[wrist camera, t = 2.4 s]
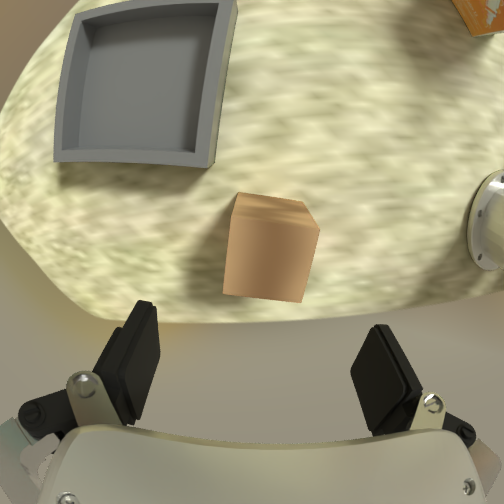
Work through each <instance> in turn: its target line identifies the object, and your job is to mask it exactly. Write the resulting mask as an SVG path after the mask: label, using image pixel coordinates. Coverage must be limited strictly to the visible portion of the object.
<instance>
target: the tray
mask: <svg viewBox="0 0 504 504" xmlns="http://www.w3.org/2000/svg"><path fill="white" fill-rule="evenodd" d="M237 14H238V7H237V1H236V0H130V1H125V2H120V3H115V4H111V5H106V6H102V7H98V8H95V9H91V10H87V11H84V12H81V13H77V14H75V17H74V20H73V23H72V27H71V30H70V34H69V38H68V42H67V46H66V51H65V55H64V60H63V65H62V70H61V76H60V82H59V89H58V97H57V105H56V116H55V129H54V162H124V163H146V164H163V165H177V166H189V167H199V168H208V167H210V166H211V165H212V164H214V163H215V155H216V147H217V139H218V131H219V123H220V116H221V109H222V102H223V95H224V89H225V82H226V76H227V70H228V64H229V58H230V52H231V46H232V41H233V35H234V30H235V25H236V19H237Z"/></svg>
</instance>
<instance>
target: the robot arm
mask: <svg viewBox="0 0 504 504" xmlns="http://www.w3.org/2000/svg"><path fill="white" fill-rule="evenodd" d="M467 243H468V249H469V252H470V255H471V258H472V259H473V261H474V262H475V263H476V264H477V265H478V266H479V267H481V268H482V269H484V270H488V271H490V270H495V269H498V268H501V269H503V270H504V170H498V171H496V172H494V173H492V174H491V175H490V176H489V177H488V178H487V179H486V180H485V181H484V183H483V184H482V185H481V187H480V189H479V191H478V192H477V195H476V197H475V199H474V202H473V205H472V208H471V211H470V216H469V221H468V230H467ZM159 359H160V344H159V333H158V321H157V309H156V306H153V305H152V302H148V301H142V300H138V301H137V303H136V305H135V306H134V308H133V310H132V312H131V313H130V315H129V317H128V319H127V321H126V322H125V324H124V326H123V328H121V327H117V328H116V329H115V330H114V332H113V335H112V336H111V337H110V339H109V341H108V343H107V345H106V346H105V348H104V350H103V352H102V354H101V356H100V357H99V359H98V361H97V363H96V365H95V367H94V369H93V371H92V372H90V371H79V372H77V373H74V374H73V375H72V376H70V378H69V379H68V381H67V384H66V389H64V390H61V391H58V392H55V393H52V394H49V395H46V396H43V397H39V398H36V399H33V400H30V401H28V402H26V403H24V404H23V405H22V406H21V408H20V409H19V413H18V417H17V418H16V419H14V418H13V417H12V418H10V419H9V420H7V421H6V422H4V423H3V424H2V425H1V426H0V486H1V487H2V489H3V490H4V492H5V494H6V495H7V497H8V498H9V499H10V501H11V502H12V504H487V501H486V496H487V494H488V492H489V490H490V489H491V487H492V485H493V483H494V481H495V480H496V478H497V476H498V474H499V472H500V470H501V460H500V458H499V457H498V456H497V455H496V454H495V453H494V452H493V451H492V450H491V449H490V448H489V447H488V446H487V445H485V444H484V443H483V442H482V441H481V440H480V439H477V440H476V432H475V430H474V428H473V427H472V426H471V425H470V424H468V423H467V422H465V421H463V420H461V419H459V418H457V417H455V416H453V415H451V414H449V413H447V412H446V404H445V401H444V400H443V398H442V397H441V396H440V395H438V394H437V393H434V392H426V393H424V394H422V392H421V391H422V390H423V388H422V386H421V384H420V382H419V380H418V378H417V376H416V374H415V372H414V370H413V368H412V367H411V365H410V363H409V361H408V359H407V357H406V356H405V354H404V352H403V350H402V349H401V347H400V345H399V343H398V341H397V340H396V338H395V336H394V334H393V333H392V331H391V329H390V328H389V326H388V325H383V324H378V325H377V324H376V325H375V326H374V327H372V328H371V329H370V331H369V333H368V335H367V337H366V339H365V341H364V343H363V346H362V347H361V349H360V351H359V353H358V355H357V358H356V359H355V361H354V363H353V365H352V367H351V371H350V372H351V377H352V380H353V383H354V386H355V389H356V392H357V395H358V398H359V401H360V404H361V408H362V411H363V414H364V417H365V420H366V424H367V427H368V429H369V431H371V432H372V435H373V437H368V438H361V439H353V440H344V441H334V442H322V443H303V444H302V443H301V444H261V443H240V442H226V441H217V440H208V439H200V438H193V437H186V436H179V435H173V434H167V433H162V432H157V431H152V430H146V429H141V428H136V427H129V426H127V424H130V425H134V424H135V421H136V419H137V420H140V418H141V415H142V412H143V408H144V405H145V402H146V399H147V396H148V392H149V389H150V386H151V383H152V380H153V377H154V374H155V371H156V368H157V365H158V362H159ZM49 454H54V455H53V457H52V459H51V462H50V464H49V466H48V469H47V472H46V475H45V477H44V480H43V483H42V482H41V480H40V478H39V477H38V468H39V466H40V465H41V463H43V462H44V461H45V460H46V459H45V457H46V456H48V455H49Z"/></svg>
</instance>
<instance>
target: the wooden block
mask: <svg viewBox="0 0 504 504" xmlns="http://www.w3.org/2000/svg"><path fill="white" fill-rule="evenodd" d="M319 232H320V229H319V227H318V225H317V224H316V222H315V220H314V219H313V217H312V216H311V214H310V212H309V211H308V209H307V208H306V206H305V204H304V203H303V202H302V201H296V200H289V199H283V198H276V197H270V196H263V195H256V194H249V193H241V192H238V195H237V198H236V202H235V205H234V208H233V212H232V215H231V221H230V230H229V239H228V247H227V256H226V266H225V275H224V285H223V294H229V295H236V296H244V297H252V298H260V299H269V300H278V301H287V302H296V303H301V302H302V298H303V295H304V291H305V287H306V284H307V280H308V276H309V272H310V269H311V265H312V261H313V257H314V253H315V249H316V245H317V241H318V236H319Z"/></svg>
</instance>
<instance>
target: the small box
mask: <svg viewBox="0 0 504 504" xmlns="http://www.w3.org/2000/svg"><path fill="white" fill-rule="evenodd" d="M451 1H452V2H453V4H454V5H455V7H456V8H457V10H458V12H459V13H460V15H461V17H462V18H463V20H464V22H465V24H466V25H467V27H468V29H469V31H470V33H471V35H472V37H477V36H484V35H491V34H498V33H504V0H451Z"/></svg>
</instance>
